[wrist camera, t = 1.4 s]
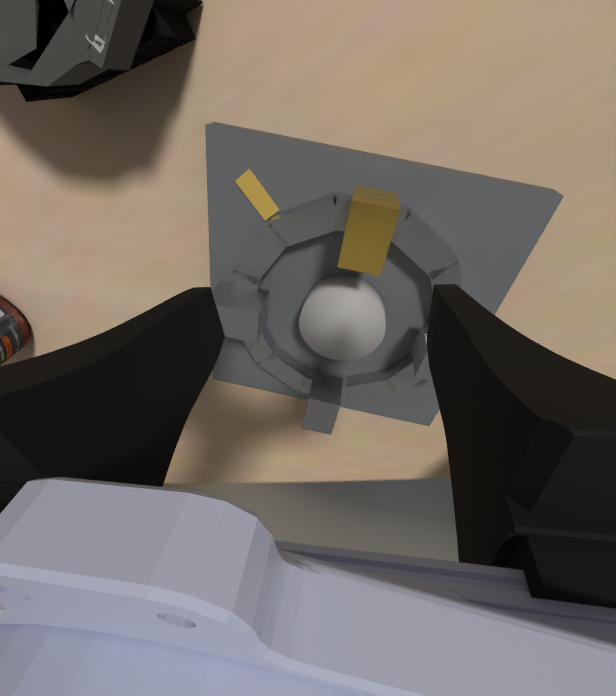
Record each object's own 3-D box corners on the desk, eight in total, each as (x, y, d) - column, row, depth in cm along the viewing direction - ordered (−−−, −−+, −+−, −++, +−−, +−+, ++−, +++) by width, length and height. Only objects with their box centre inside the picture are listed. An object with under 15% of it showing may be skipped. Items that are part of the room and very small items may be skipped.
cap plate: (553, 189, 17) (581, 208, 15) (427, 414, 28) (432, 445, 26) (214, 122, 18) (189, 130, 15) (219, 368, 28) (204, 395, 26)
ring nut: (530, 214, 17) (560, 242, 14) (421, 415, 26) (426, 455, 24) (225, 153, 17) (196, 168, 14) (225, 373, 27) (208, 407, 24)
